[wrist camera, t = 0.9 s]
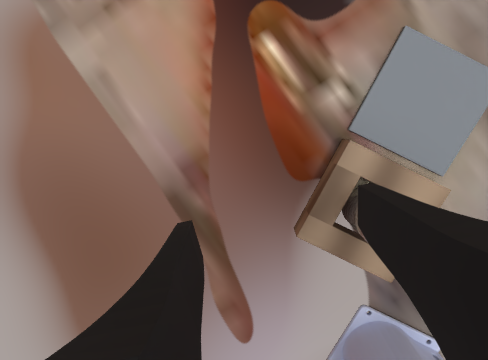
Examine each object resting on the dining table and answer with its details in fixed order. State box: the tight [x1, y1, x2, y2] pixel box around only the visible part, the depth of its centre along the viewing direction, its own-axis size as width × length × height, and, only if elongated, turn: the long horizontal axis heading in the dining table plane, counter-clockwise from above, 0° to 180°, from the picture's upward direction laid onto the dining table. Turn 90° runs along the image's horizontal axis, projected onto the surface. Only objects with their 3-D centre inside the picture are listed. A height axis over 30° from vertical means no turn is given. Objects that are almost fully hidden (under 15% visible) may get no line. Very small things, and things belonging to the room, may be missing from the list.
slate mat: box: [348, 26, 488, 176], centre depth 27 cm, size 10×10×1 cm
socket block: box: [294, 139, 451, 283], centre depth 28 cm, size 10×10×2 cm
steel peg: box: [342, 188, 368, 243], centre depth 25 cm, size 4×4×8 cm
